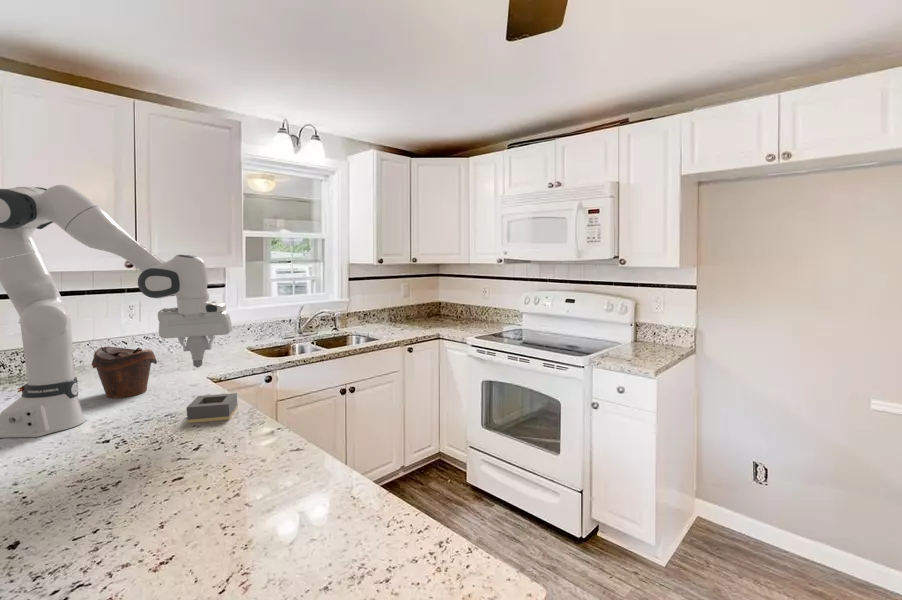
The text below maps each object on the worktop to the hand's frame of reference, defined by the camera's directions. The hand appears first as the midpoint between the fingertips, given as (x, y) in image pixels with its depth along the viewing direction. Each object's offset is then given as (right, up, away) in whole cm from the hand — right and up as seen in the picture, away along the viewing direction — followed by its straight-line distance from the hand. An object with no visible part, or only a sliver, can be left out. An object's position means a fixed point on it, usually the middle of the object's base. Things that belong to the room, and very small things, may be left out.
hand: (198, 350), depth 145 cm
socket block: (+2, -22, +5) cm, 22 cm away
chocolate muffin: (-43, -20, +30) cm, 56 cm away
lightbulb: (0, -6, 0) cm, 6 cm away
